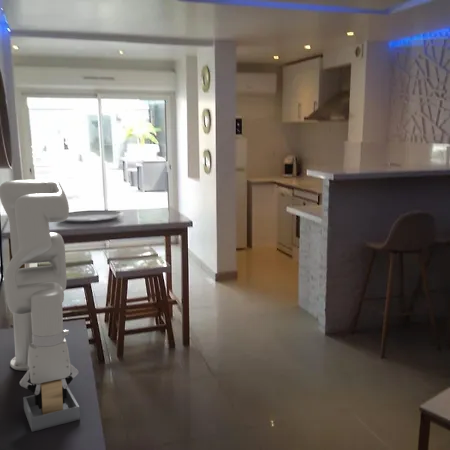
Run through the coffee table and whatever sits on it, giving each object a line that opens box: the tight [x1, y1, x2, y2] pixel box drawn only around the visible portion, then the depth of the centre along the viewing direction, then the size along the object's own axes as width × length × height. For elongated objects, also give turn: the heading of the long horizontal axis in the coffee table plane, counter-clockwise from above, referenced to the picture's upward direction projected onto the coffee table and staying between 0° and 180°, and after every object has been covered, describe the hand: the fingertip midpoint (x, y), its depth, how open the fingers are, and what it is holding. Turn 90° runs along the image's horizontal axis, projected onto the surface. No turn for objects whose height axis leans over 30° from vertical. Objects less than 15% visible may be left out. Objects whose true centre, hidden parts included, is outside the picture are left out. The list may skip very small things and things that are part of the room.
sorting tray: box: [22, 386, 81, 433], centre depth 132 cm, size 12×12×4 cm
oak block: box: [40, 379, 63, 415], centre depth 131 cm, size 5×5×8 cm
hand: (50, 403), depth 131 cm, fingers closed on oak block, 5 cm apart
